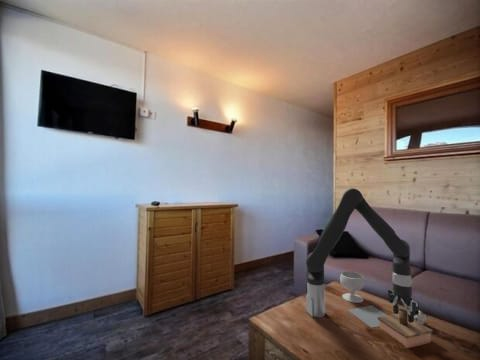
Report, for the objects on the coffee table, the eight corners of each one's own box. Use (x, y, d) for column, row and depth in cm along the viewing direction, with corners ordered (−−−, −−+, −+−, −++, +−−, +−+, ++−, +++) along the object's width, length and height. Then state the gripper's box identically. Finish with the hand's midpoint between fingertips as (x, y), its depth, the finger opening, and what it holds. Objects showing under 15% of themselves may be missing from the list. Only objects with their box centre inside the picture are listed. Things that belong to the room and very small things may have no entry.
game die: (422, 334, 113) (435, 324, 107) (404, 326, 115) (416, 316, 109) (417, 316, 120) (429, 307, 115) (400, 309, 122) (411, 300, 116)
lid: (406, 338, 98) (405, 322, 98) (377, 319, 112) (377, 305, 113) (432, 332, 101) (431, 316, 102) (401, 314, 116) (400, 300, 116)
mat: (371, 328, 112) (371, 327, 112) (347, 310, 129) (347, 309, 129) (398, 322, 117) (398, 322, 117) (371, 306, 133) (371, 305, 133)
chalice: (346, 291, 152) (345, 269, 152) (368, 299, 141) (368, 275, 142) (336, 298, 143) (335, 274, 143) (359, 306, 132) (358, 281, 133)
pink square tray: (406, 348, 98) (406, 337, 98) (379, 328, 112) (379, 319, 112) (431, 342, 102) (430, 332, 102) (401, 324, 115) (401, 315, 115)
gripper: (382, 277, 114) (384, 311, 113) (410, 290, 100) (412, 328, 99) (394, 275, 115) (395, 308, 115) (423, 288, 101) (425, 325, 101)
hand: (403, 317), depth 107 cm, fingers open, 6 cm apart
